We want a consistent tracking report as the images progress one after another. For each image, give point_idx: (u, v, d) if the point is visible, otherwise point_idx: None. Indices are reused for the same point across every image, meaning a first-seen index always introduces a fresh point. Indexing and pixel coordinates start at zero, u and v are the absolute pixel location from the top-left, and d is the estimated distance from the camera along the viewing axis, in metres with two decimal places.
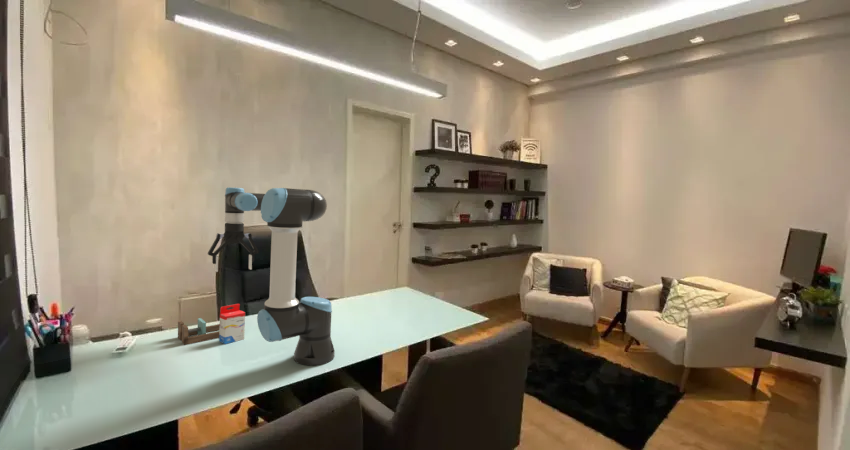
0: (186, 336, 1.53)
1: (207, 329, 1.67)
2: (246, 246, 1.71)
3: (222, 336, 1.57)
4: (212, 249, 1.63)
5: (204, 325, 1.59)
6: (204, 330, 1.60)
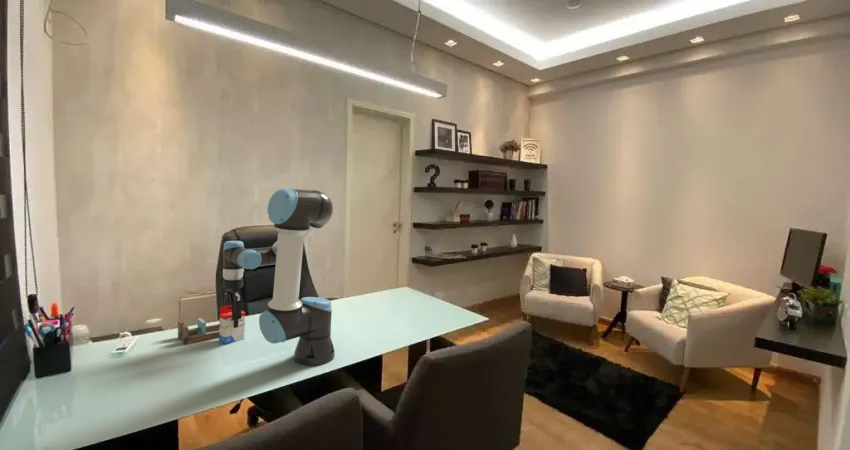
0: (186, 336, 1.53)
1: (207, 329, 1.67)
2: (232, 307, 1.57)
3: (222, 336, 1.57)
4: None
5: (204, 325, 1.59)
6: (204, 330, 1.60)
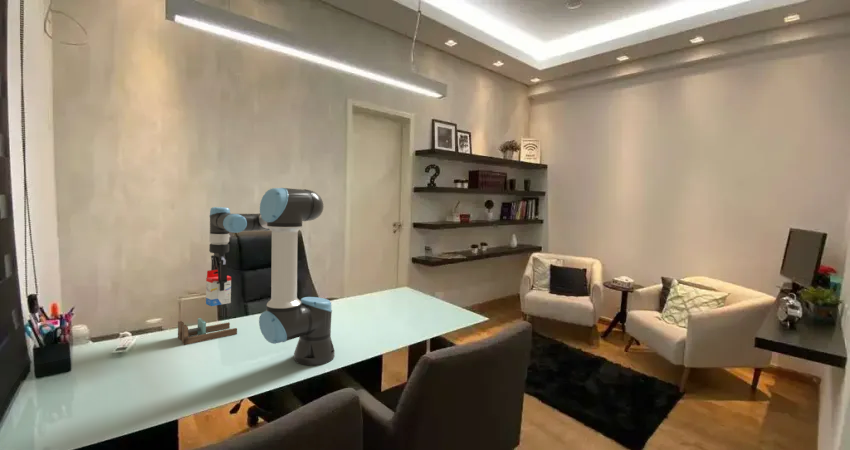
0: (186, 336, 1.53)
1: (207, 329, 1.67)
2: (218, 271, 1.62)
3: (208, 299, 1.62)
4: None
5: (204, 325, 1.59)
6: (204, 330, 1.60)
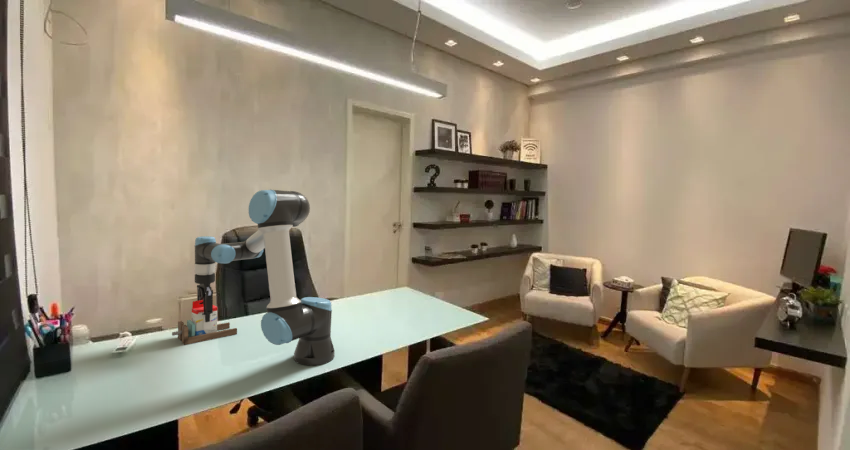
0: (186, 336, 1.53)
1: None
2: (203, 302, 1.59)
3: None
4: None
5: (193, 327, 1.57)
6: (193, 332, 1.57)
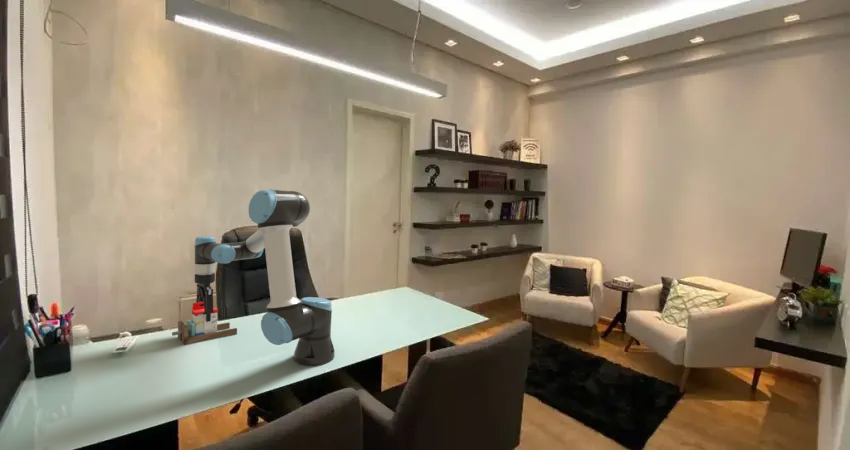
0: (186, 336, 1.53)
1: None
2: None
3: None
4: (196, 299, 1.66)
5: (193, 327, 1.57)
6: (193, 332, 1.57)
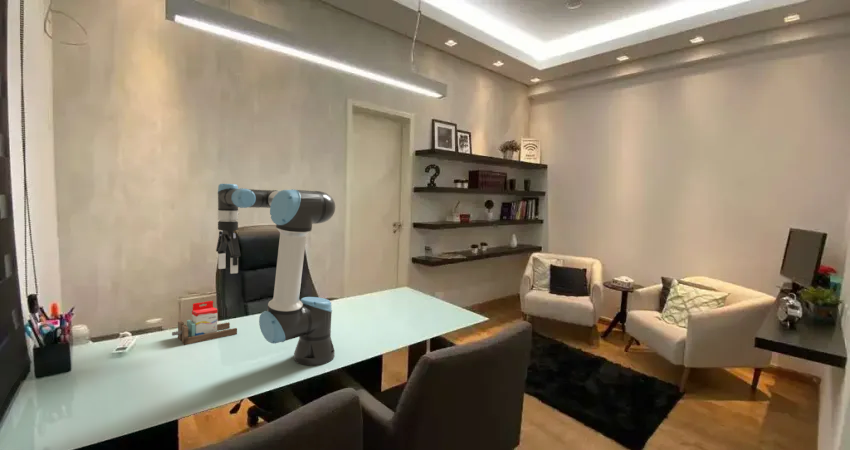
0: (186, 336, 1.53)
1: None
2: (229, 247, 1.57)
3: None
4: (217, 246, 1.66)
5: (193, 327, 1.57)
6: (193, 332, 1.57)
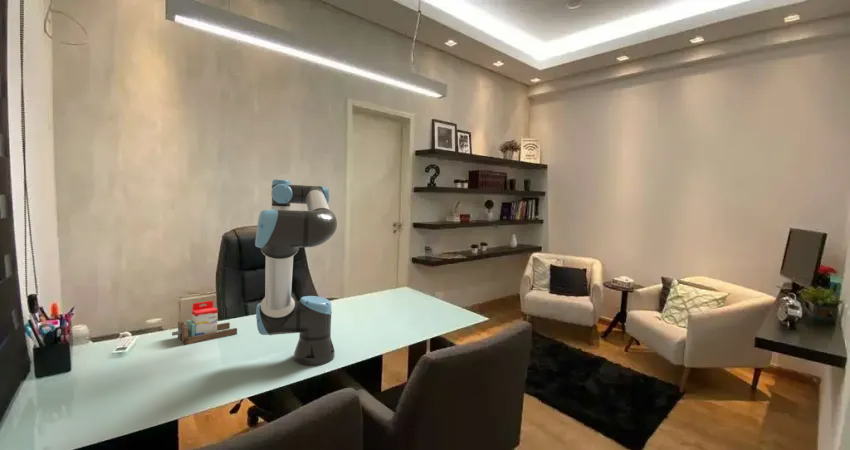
0: (186, 336, 1.53)
1: None
2: None
3: None
4: None
5: (193, 327, 1.57)
6: (193, 332, 1.57)
